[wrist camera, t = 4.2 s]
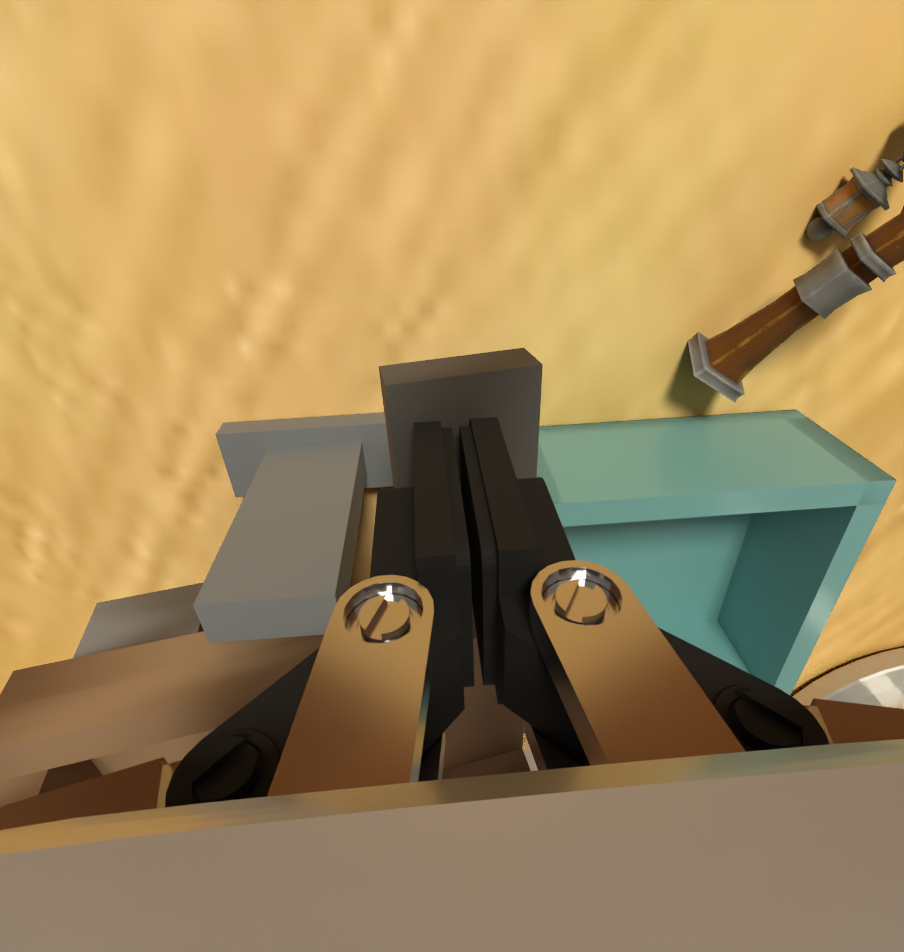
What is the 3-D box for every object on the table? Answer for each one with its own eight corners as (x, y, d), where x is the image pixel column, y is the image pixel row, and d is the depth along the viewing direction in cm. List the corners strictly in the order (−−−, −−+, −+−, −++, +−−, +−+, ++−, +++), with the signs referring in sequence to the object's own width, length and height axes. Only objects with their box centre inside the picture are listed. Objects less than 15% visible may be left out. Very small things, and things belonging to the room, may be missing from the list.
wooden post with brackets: (995, 95, 13) (1102, 178, 10) (715, 317, 19) (736, 407, 16) (954, 46, 12) (1056, 121, 10) (679, 291, 18) (694, 380, 16)
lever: (481, 310, 13) (606, 420, 8) (485, 667, 21) (551, 847, 15) (-64, 372, 11) (-399, 580, 6) (161, 746, 19) (107, 987, 13)
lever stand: (406, 410, 17) (402, 568, 11) (430, 657, 24) (437, 844, 18) (223, 423, 17) (109, 590, 11) (299, 667, 24) (256, 860, 17)
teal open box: (796, 409, 18) (896, 480, 14) (723, 621, 24) (782, 711, 20) (509, 428, 18) (534, 505, 14) (505, 638, 24) (522, 733, 20)
